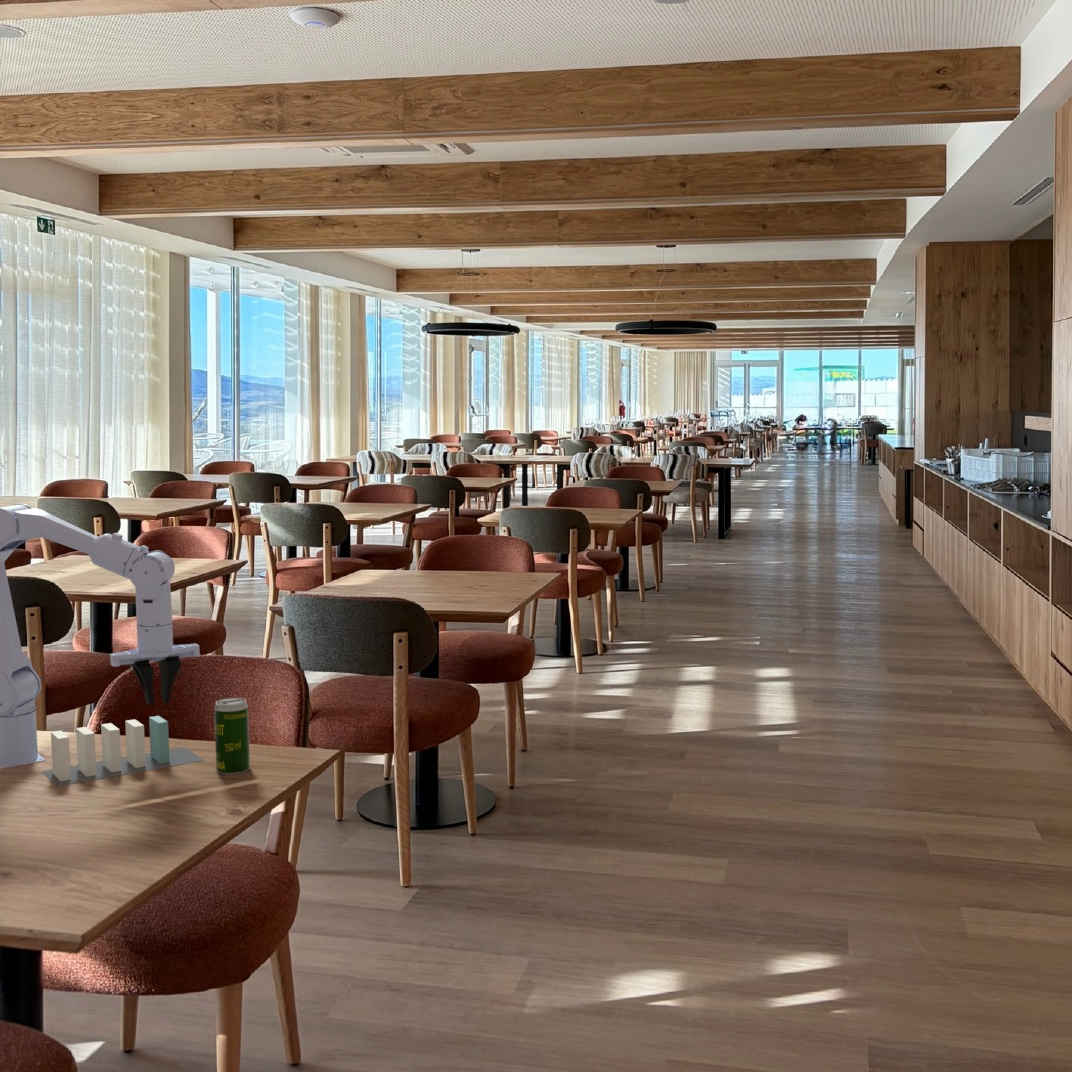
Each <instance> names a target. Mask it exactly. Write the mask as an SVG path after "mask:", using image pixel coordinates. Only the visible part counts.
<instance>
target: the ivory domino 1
mask: <svg viewBox="0 0 1072 1072" xmlns="http://www.w3.org/2000/svg"><path fill="white" fill-rule="evenodd" d="M50 741H51V762H52V769H53V774H54V775H55V776H56V777H57V778H58V779H59V780H60V781H65V780H71V770H70V766H71V758H70V757H71V753H70V736H68V735H67V734H66V733H65V732H63V730H56V731H50Z"/></svg>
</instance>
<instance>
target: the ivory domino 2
mask: <svg viewBox="0 0 1072 1072" xmlns="http://www.w3.org/2000/svg"><path fill="white" fill-rule="evenodd" d="M95 734H96V733H95V732H94V731H92V729H90V728H88V727H87V726H83V727H76V749H77V765H78V770H79V771H81V772H82V773H83V774H84V775H85V776H86V777H88V776H93V775H96V762H97V757H96V735H95Z"/></svg>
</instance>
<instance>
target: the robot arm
mask: <svg viewBox="0 0 1072 1072" xmlns="http://www.w3.org/2000/svg"><path fill="white" fill-rule="evenodd" d="M123 537H124V536H123V534H120V533H118V532H114V533H112V534H111V533H104V534H102V535H99V536H97V535H95V534H93V533H91V532H89V531H86V530H84V529H82V528H80V527H78V526H76V525H74V524H72V523H69V522H67V521H65V520H63V519H62V518H59V517H57V516H55V515H53V514H51V513H49V512H47V511H45V510H44V509H41V508H36V507H31V506H30V505H28V504H27V503H14V504H13V505H8V506H2V507H0V769H6V768H10V767H12V768H13V767H17V766H22V765H23V766H24V765H30V764H34V763H35V764H37V763H41V762H46V760H45V758H44V757H43V756H42V755H41V754H40V753H39V751H38V750H39V748H38V731H37V712H36V711H37V710H36V700H35V699H37V698H38V697H39V694H40V693H41V690H42V681H41V678H40V676H39V675H38V674H37V672H36V671H35V669H34V667H33V664H32V660H31V659H30V657H29V656H28V655H26V654H25V653H24V651H23V648H22V644H21V639H20V634H19V631H18V630H19V629H18V624H17V620H16V614H15V609H14V605H13V600H12V594H11V590H10V585H9V580H8V576H7V571H6V565H5V562H6V560H7V559H8V558H9V557H10V556H11V555H12V553H13V552H14V551H15V550H16V549H17V547H19V546H20V545H22V544H24V543H25V542H27V541H28V540H34V539H40V538H41V539H47V540H48V541H52V542H54V543H57V544H60V545H61V546H62V545H63V546H66V547H68V548H71V549H74V550H76V551H80V552H82V553H84V554H87V555H88V557H89V558H90V561H91V563H92V564H93V565H94V566H97V567H99V568H102V569H105V570H107V571H108V572H111V573H113V574H116V575H118V576H121V577H123V578H126V579H129V581H130V582H131V583H132V584H133V586H134V588H135V611H136V612H135V615H136V637H137V639H136V640H137V648H136V649H130V650H125V651H120V652H114V653H110V654H109V655H110V656H109V658H110V659H109V661H110V666H112V667H113V668H115V667H116V668H118V667H120V666H123V665H125V666H126V665H130V667H131V669H132V671H133V673H134V674H135V676H136V678H137V680H138V682H139V684H140V687H141V690H142V692H143V697H144V701H145V704H146V705H148V706H152V705H154V702H155V698H154V688H153V687H154V685H153V683H154V671H155V669H154V668H155V667H153V666H152V664H151V663H150V662H157V661H158V667H159V673H160V696H161V697H160V698H161V702H163V703H165V704H166V703H167V704H168V703H170V700H171V695H172V694H171V693H172V690H173V686H174V683H175V680H176V678H177V676H178V673H179V671H180V669H181V668H182V660H180V658H189V657H192V658H193V657H194V658H195V657H197V658H198V657H200V655H201V653H200V645H199V644H197V643H190V644H189V643H187V644H174V639H173V636H174V633H173V613H172V612H173V609H172V607H173V606H172V592H171V590H172V589H171V588H172V587H171V580H172V578H173V576H174V574H175V570H176V569H175V563H174V561H173V558H171V557H170V556H169V554H167V553H166V552H164V551H163V550H156V549H155V550H153V551H149V546H146V545H145V544H143V545H141V546H139V545H137V544H135V543H132V542H131V541H127V540H126V539H123Z"/></svg>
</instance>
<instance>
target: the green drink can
mask: <svg viewBox="0 0 1072 1072" xmlns="http://www.w3.org/2000/svg"><path fill="white" fill-rule="evenodd" d="M213 715H214V734H215V735H214V736H215V737H214V738H215V740H214V741H215V766H216V767H215V768H216V769H215V770H216V772H217V773H218V774H221V775H238V774H242V773H243V774H244V773H245V772H248V771H249V770H250V768H251V765H250V763H251V762H250V758H251V757H250V731H249V728H250V727H249V706H248V703H247V700H246V698H242V697H240V698H239V697H229V698H228V697H227V698H223V699H222V698H221V699H219V700H216V701H215V707H214V714H213Z"/></svg>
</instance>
